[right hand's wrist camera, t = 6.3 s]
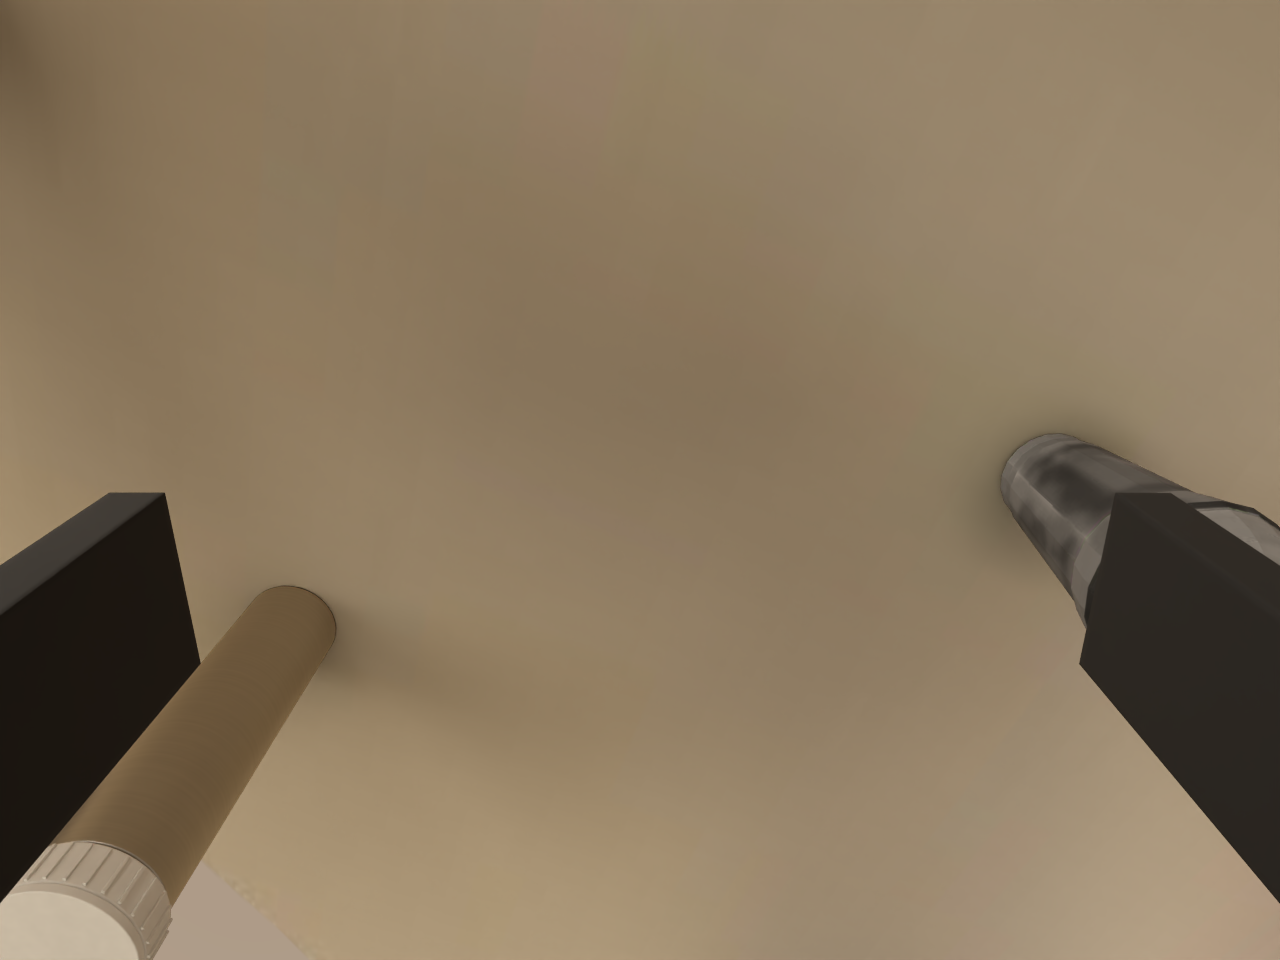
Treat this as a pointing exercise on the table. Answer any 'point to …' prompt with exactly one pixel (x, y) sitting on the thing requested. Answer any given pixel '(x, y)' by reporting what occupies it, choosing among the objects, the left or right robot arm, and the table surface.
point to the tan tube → (208, 739)
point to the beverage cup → (1099, 507)
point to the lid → (84, 907)
